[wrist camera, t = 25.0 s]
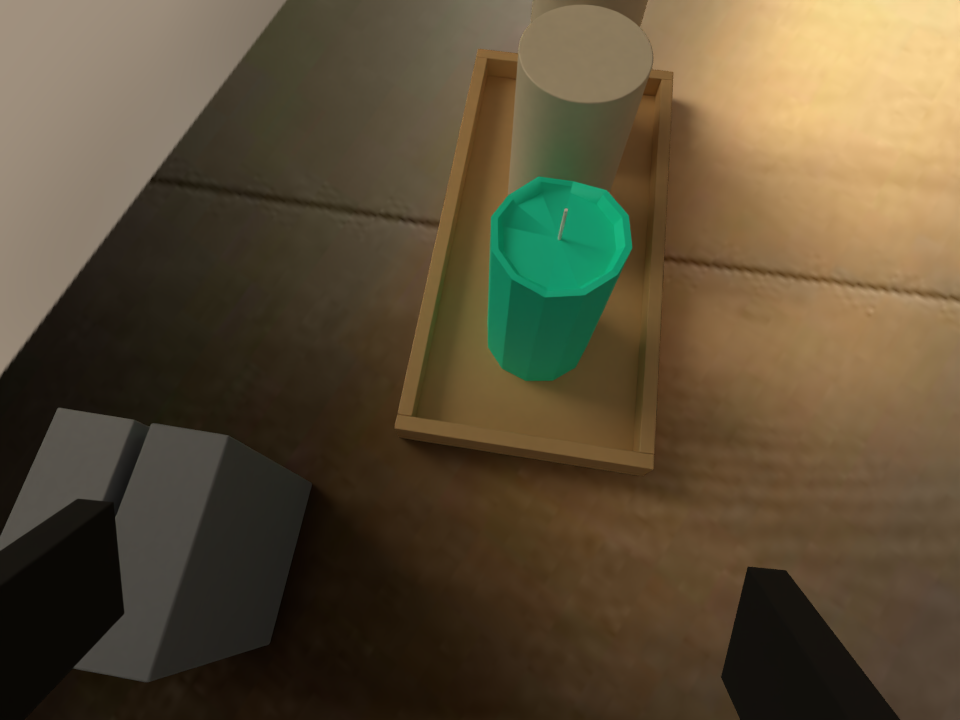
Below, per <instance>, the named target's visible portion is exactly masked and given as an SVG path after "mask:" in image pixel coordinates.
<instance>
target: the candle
mask: <svg viewBox="0 0 960 720" xmlns="http://www.w3.org/2000/svg"><path fill="white" fill-rule="evenodd" d="M631 250H632V239H631V231H630V222H629V215H628V214H627V213H626V212H625V210H624V209H623V208H622V207H621V206H620V205H619V204H618V202H617V201H616V200H615V199H614V198H613V197H612V196H611V194H610V193H609V192H608V191H607V190H604V189H600V188H597V187H593V186H589V185H586V184H582V183H578V182H575V181H569V180H561V179H554V178H547V177H537V178H535V179H534V180H532V181H530V182H529V183H527V184H526V185H524V186H522V187H521V188H519V189H517V190H516V191H514V192H513V193H511V194H509V195H508V196H507V197H506V198H505V200H504V201H503V202H502V204H501V205H500V206H499V207H498V209H497V210H496V211H495V212H494V214H493V215H492V216H491V230H490V260H489V290H488V321H487V327H488V348H489V349H490V351H491V353H492V354H493V356H494V357H495V359H496V360H497V362H498V363H499V365H500V366H501V368H502V369H504V370H506V371H508V372H510V373H511V374H513V375H515V376H517V377H519V378H521V379H523V380H525V381H553V380H555V379H557V378H558V377H560V376H562V375H564V374H565V373H567V372H569V371H571V370H572V369H574V368H576V366H577V364H578V362H579V360H580V358H581V356H582V355H583V353H584V351H585V349H586V347H587V345H588V343H589V341H590V339H591V336H592V334H593V332H594V330H595V328H596V326H597V323H598V321H599V319H600V317H601V315H602V313H603V310H604V308H605V306H606V304H607V302H608V300H609V297H610V295H611V293H612V291H613V289H614V287H615V284H616V282H617V280H618V278H619V276H620V274H621V271H622V269H623V267H624V265H625V263H626V261H627V259H628V256H629V254H630V252H631Z"/></svg>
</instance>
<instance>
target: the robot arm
mask: <svg viewBox="0 0 960 720" xmlns="http://www.w3.org/2000/svg"><path fill="white" fill-rule="evenodd" d="M124 614H125V613H124V603H123V593H122V583H121V573H120V562H119V552H118V542H117V532H116V522H115V511H114V502H107V501H98V500H88V499H76V500H75V501H73V502H72V503H70V504H69V505H67V506H66V507H64V508H63V509H61V510H60V511H58V512H57V513H55V514H54V515H52V516H51V517H49V518H48V519H47V520H45V521H44V522H42V523H41V524H39V525H38V526H36V527H35V528H33V529H32V530H30V531H29V532H27V533H26V534H24V535H23V536H21V537H20V538H18V539H17V540H15V541H14V542H12V543H11V544H9V545H8V546H7V547H5V548H4V549H2V550H1V551H0V720H24V719H25V718H26V717H27V716H28V715H29V714H30V713H31V712H32V711H33V710H34V709H35V708H36V707H37V706H38V705H39V703H40V702H41V701H42V700H43V699H44V698H45V697H46V696H47V695H48V694H49V693H50V692H51V691H52V690H53V689H54V688H55V687H56V685H57V684H58V683H59V682H60V681H61V680H62V679H63V678H64V677H65V676H66V675H67V674H68V673H69V672H70V671H71V670H72V669H73V668H74V666H75V665H76V664H77V663H78V662H79V661H80V660H81V659H82V658H83V657H84V656H85V655H86V654H87V653H88V652H89V651H90V650H91V648H92V647H93V646H94V645H95V644H96V643H97V642H98V641H99V640H100V639H101V638H102V637H103V636H104V635H105V634H106V633H107V632H108V631H109V629H110V628H111V627H112V626H113V625H114V624H115V623H116V622H117V621H118V620H119V619H120V618H121V617H122V616H123V615H124ZM721 678H722V680H723V682H724V685H725V687H726V689H727V691H728V693H729V696H730V698H731V700H732V702H733V704H734V707H735V709H736V711H737V713H738V715H739V718H740V720H900V719H899V718H898V716H897V715H896V714H895V712H894V711H893V710H892V709H891V707H890V706H889V705H888V703H887V702H886V701H885V699H884V698H883V697H882V695H881V694H880V693H879V691H878V690H877V689H876V688H875V686H874V685H873V684H872V682H871V681H870V680H869V678H868V677H867V676H866V674H865V673H864V672H863V671H862V669H861V668H860V667H859V665H858V664H857V663H856V661H855V660H854V659H853V657H852V656H851V655H850V654H849V652H848V651H847V650H846V648H845V647H844V646H843V644H842V643H841V642H840V640H839V639H838V638H837V637H836V635H835V634H834V633H833V631H832V630H831V629H830V627H829V626H828V625H827V623H826V622H825V621H824V620H823V618H822V617H821V616H820V614H819V613H818V612H817V610H816V609H815V608H814V606H813V605H812V604H811V603H810V601H809V600H808V599H807V597H806V596H805V595H804V593H803V592H802V591H801V589H800V588H799V587H798V586H797V584H796V583H795V582H794V580H793V579H792V578H791V576H790V575H789V574H788V572H787V571H786V570H776V569H766V568H757V567H748V568H747V572H746V576H745V581H744V585H743V589H742V593H741V597H740V601H739V606H738V610H737V614H736V618H735V622H734V626H733V630H732V635H731V639H730V643H729V647H728V651H727V655H726V660H725V664H724V668H723V672H722V676H721Z"/></svg>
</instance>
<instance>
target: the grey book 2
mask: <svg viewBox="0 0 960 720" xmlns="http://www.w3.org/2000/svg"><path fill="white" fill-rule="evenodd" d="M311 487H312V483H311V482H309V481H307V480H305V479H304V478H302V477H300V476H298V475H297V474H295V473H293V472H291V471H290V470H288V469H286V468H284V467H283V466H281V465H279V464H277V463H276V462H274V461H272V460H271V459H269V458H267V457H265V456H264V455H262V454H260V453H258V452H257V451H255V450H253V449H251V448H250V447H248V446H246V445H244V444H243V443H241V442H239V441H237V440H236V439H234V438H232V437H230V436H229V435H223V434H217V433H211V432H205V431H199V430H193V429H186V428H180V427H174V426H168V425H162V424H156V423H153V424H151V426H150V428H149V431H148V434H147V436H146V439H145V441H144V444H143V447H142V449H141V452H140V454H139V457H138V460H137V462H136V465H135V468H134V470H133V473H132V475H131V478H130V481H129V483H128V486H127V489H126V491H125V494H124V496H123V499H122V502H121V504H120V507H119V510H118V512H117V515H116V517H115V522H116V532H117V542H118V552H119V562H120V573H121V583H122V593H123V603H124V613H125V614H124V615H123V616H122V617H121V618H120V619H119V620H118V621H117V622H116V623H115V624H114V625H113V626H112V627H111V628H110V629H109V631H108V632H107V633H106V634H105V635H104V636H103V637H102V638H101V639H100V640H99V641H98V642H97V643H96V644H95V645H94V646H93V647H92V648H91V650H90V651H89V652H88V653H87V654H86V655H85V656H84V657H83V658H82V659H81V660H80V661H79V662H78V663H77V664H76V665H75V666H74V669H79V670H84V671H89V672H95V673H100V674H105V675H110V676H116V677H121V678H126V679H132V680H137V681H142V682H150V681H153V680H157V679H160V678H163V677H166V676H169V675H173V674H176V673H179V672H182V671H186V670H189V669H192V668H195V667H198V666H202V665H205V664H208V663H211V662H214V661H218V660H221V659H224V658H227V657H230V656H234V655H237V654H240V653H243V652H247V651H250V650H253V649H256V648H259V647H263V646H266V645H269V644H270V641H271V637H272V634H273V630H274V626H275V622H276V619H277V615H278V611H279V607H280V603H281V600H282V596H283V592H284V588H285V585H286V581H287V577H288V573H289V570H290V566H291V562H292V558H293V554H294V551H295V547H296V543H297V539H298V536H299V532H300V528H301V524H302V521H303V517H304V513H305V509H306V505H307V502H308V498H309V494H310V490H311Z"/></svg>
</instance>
